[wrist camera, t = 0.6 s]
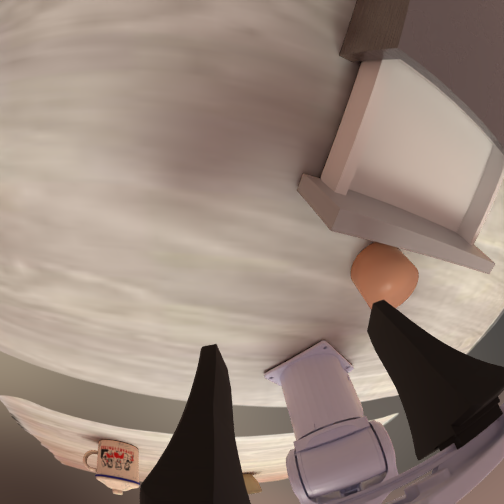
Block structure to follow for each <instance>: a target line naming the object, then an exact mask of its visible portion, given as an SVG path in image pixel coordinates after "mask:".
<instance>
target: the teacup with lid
mask: <svg viewBox="0 0 504 504" xmlns="http://www.w3.org/2000/svg"><path fill="white" fill-rule="evenodd" d="M138 453H139V451H138V449H137V448H136V447H134V446H132V445H130V444H127V443H124V442H119V441H114V440H101V441H99V445H98V451H96V450H90V451H88V452H86V453H85V455H84V457H83V463H84V465H85V466H86V467H87V468H88V469H89V470H92V471H96V472H97V474H96V478H97V480H99V481H101V482H102V483H104V484H105V485H107V486H108V487H109V488H111V489H113V493H114V494H119V495H122V494H123V492H122V491H128V490H130V489H133V488H138V487H139V485H140V483H139V472H138ZM91 454H98V459H97V469H96V468H92V467H89V466H88V465H87V458H88V456H89V455H91Z"/></svg>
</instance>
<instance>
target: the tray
mask: <svg viewBox="0 0 504 504" xmlns="http://www.w3.org/2000/svg"><path fill="white" fill-rule="evenodd" d="M503 178H504V155H503V154H502V152H501V151H500V150H499V149H498V148H497V146H496V145H495V144H494V143H493V142H492V140H491V139H490V138H489V137H488V136H487V135H486V134H485V133H484V131H483V130H482V129H481V128H480V127H479V126H478V125H477V124H476V123H475V122H474V121H473V120H472V119H471V118H470V117H469V116H468V115H467V114H466V113H465V112H464V111H463V110H462V109H461V108H460V107H459V106H458V105H457V104H456V103H455V102H454V101H453V100H451V99H450V98H449V97H448V96H447V95H446V94H445V93H444V92H442V91H441V90H440V89H439V88H438V87H437V86H435V85H434V84H433V83H432V82H430V81H429V80H428V79H427V78H425V77H424V76H423V75H422V74H420V73H419V72H418V71H416V70H415V69H414V68H412V67H411V66H409V65H408V64H407V63H405V62H404V61H402V60H401V59H389V60H371V61H362V62H361V65H360V68H359V71H358V74H357V77H356V80H355V83H354V86H353V89H352V92H351V95H350V98H349V101H348V104H347V106H346V109H345V112H344V115H343V118H342V121H341V123H340V126H339V129H338V132H337V134H336V137H335V140H334V143H333V145H332V148H331V151H330V153H329V156H328V159H327V161H326V164H325V167H324V169H323V172H322V175H321V177H320V178H317V177H314V176H311V175H308V174H304V173H303V175H302V178H301V181H300V183H299V186H298V189H297V191H298V192H299V193H300V194H301V195H302V197H303V198H304V199H305V200H306V201H307V202H308V204H309V205H310V206H311V207H312V208H313V210H314V211H315V212H316V213H317V214H318V216H319V217H320V218H321V219H322V220H323V222H324V223H325V224H326V225H327V227H328V228H329V229H330V230H331V231H334V232H339V233H343V234H347V235H351V236H355V237H359V238H363V239H367V240H371V241H375V242H379V243H382V244H386V245H390V246H394V247H398V248H401V249H405V250H409V251H412V252H416V253H420V254H423V255H427V256H430V257H434V258H437V259H441V260H444V261H448V262H451V263H454V264H458V265H461V266H464V267H468V268H471V269H474V270H477V271H481V272H484V273H487V274H490V272H491V270H492V269H493V267H494V265H495V263H494V262H493V261H492V260H491V259H490V258H489V257H487V256H486V255H485V254H484V253H483V252H482V251H481V250H480V249H479V248H477V247H476V246H475V245H474V243H475V241H476V239H477V237H478V235H479V233H480V231H481V229H482V227H483V225H484V223H485V221H486V219H487V217H488V214H489V212H490V210H491V208H492V205H493V203H494V201H495V198H496V196H497V194H498V191H499V189H500V186H501V184H502V181H503Z"/></svg>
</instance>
